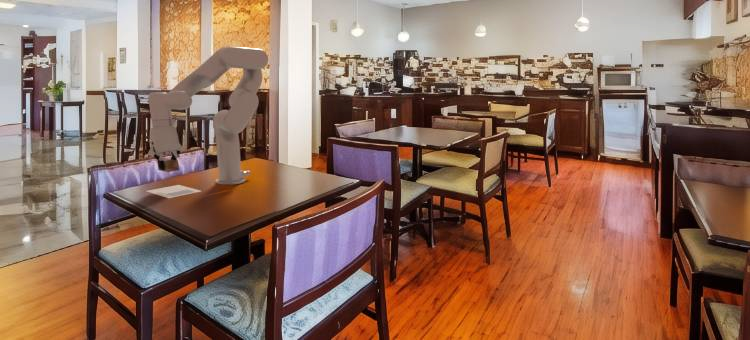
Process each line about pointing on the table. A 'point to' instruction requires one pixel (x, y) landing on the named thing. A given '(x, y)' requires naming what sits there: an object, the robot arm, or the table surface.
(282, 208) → the table surface
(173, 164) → the brown block
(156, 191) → the mat
